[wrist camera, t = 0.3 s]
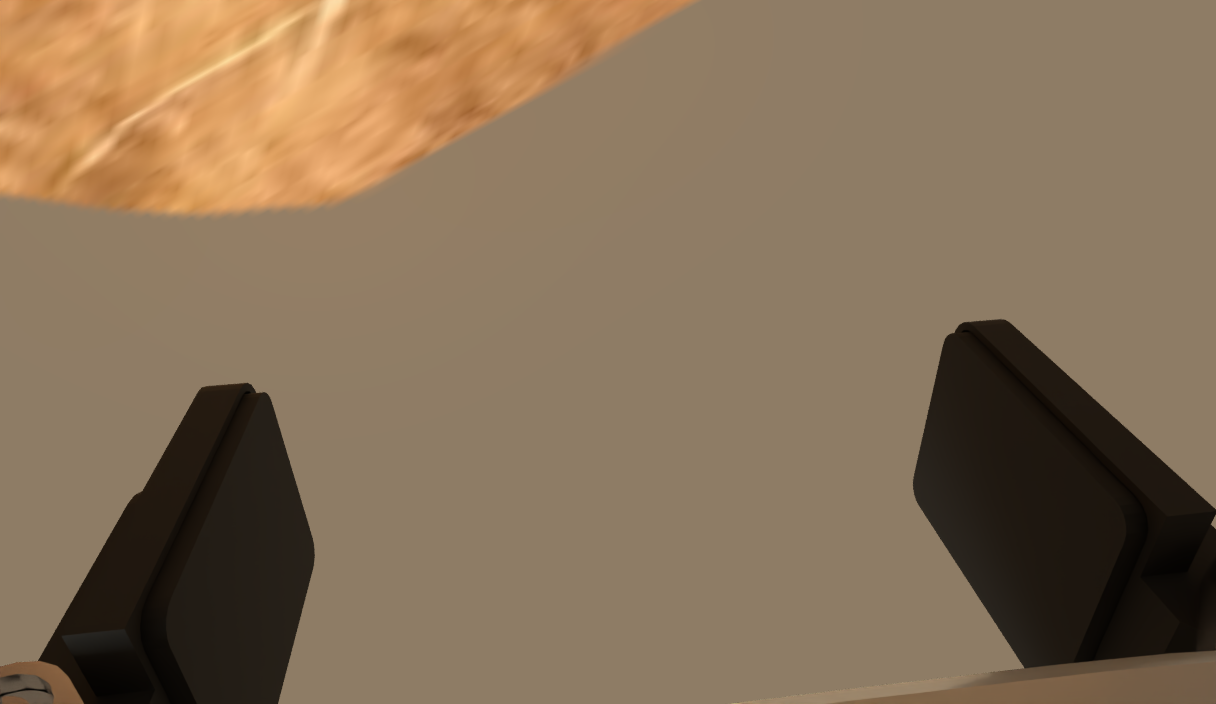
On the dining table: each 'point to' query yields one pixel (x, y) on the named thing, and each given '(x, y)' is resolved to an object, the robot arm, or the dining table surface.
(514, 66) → the dining table surface
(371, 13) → the dining table surface
